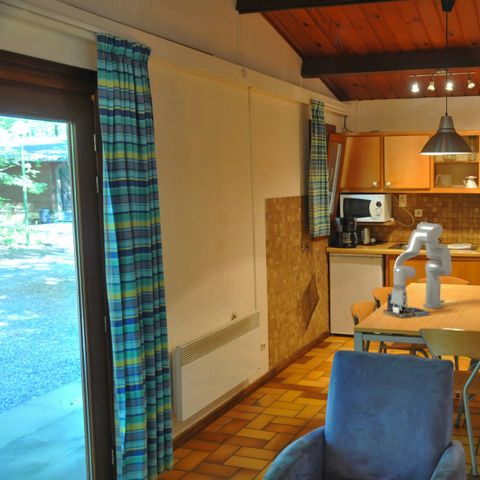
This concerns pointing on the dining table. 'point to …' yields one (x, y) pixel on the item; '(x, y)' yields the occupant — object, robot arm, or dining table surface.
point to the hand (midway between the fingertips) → (398, 314)
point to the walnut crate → (398, 314)
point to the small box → (389, 305)
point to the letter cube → (396, 309)
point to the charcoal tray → (417, 311)
